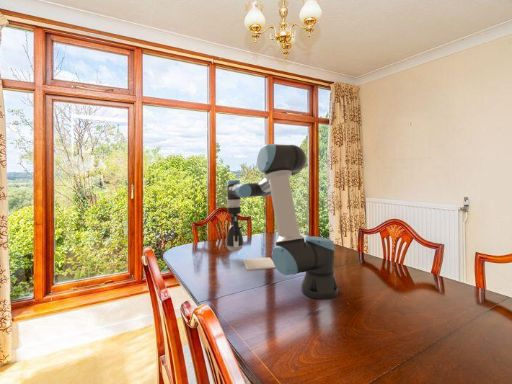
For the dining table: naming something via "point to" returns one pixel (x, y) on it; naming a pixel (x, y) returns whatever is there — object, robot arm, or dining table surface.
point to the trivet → (258, 263)
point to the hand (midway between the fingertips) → (235, 244)
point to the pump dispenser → (231, 241)
